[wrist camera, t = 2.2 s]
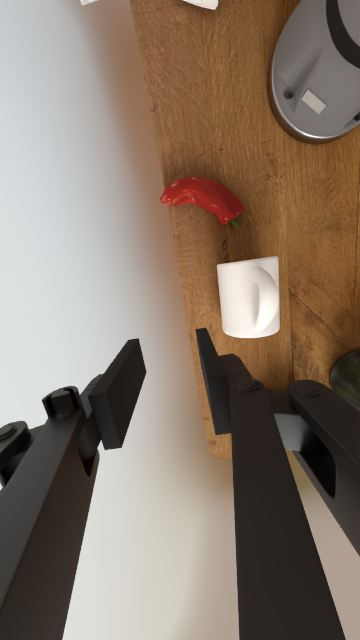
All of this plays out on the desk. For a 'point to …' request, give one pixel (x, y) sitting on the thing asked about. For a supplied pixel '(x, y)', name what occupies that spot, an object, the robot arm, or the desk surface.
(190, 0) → the cloth
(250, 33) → the desk surface
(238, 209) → the vegetable
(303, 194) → the desk surface
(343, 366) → the mug
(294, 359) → the desk surface
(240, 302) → the mug
